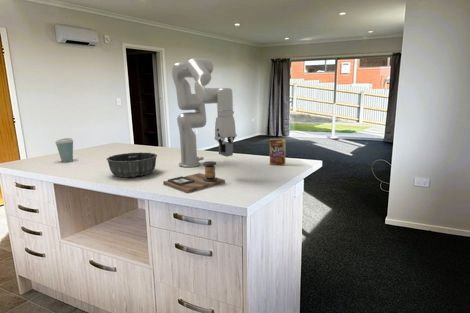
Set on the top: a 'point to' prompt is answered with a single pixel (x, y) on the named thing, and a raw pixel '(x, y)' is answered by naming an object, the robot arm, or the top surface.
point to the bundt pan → (132, 164)
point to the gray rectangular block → (227, 149)
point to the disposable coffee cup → (65, 149)
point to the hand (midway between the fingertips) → (226, 150)
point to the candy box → (277, 151)
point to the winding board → (196, 180)
